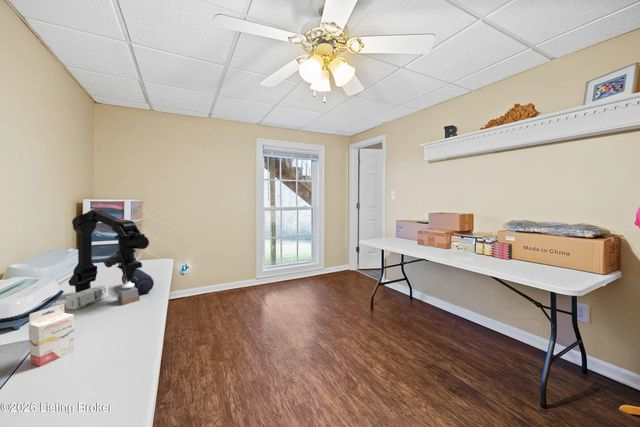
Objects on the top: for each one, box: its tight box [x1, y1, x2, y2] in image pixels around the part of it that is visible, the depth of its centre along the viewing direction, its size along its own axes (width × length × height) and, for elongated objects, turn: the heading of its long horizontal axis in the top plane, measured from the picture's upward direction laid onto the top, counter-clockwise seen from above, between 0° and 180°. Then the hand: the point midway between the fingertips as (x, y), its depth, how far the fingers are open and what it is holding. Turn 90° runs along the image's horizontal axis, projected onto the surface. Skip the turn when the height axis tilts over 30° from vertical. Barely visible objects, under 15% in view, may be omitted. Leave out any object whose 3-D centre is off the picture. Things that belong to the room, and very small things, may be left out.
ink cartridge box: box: [28, 303, 76, 367], centre depth 78 cm, size 9×5×15 cm, turn 160°
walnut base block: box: [117, 294, 141, 306], centre depth 121 cm, size 7×7×3 cm
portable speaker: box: [121, 268, 155, 295], centre depth 136 cm, size 25×10×10 cm, turn 48°
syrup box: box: [65, 285, 109, 310], centre depth 119 cm, size 6×6×14 cm
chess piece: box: [121, 279, 134, 289], centre depth 121 cm, size 5×5×10 cm
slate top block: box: [117, 286, 139, 299], centre depth 121 cm, size 6×6×3 cm
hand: (127, 281), depth 121 cm, fingers closed on chess piece
